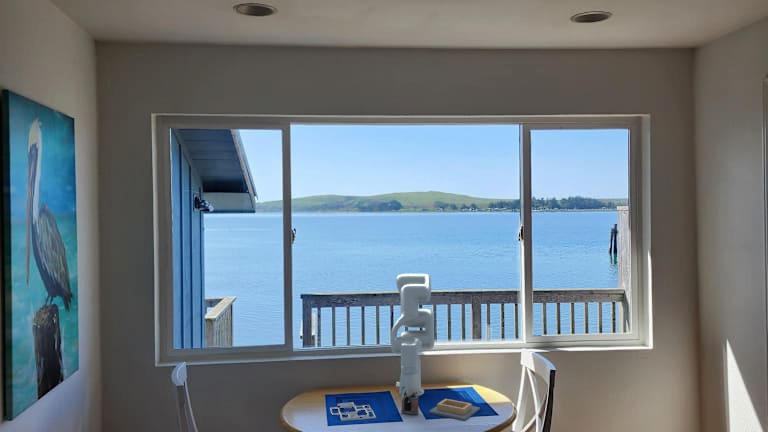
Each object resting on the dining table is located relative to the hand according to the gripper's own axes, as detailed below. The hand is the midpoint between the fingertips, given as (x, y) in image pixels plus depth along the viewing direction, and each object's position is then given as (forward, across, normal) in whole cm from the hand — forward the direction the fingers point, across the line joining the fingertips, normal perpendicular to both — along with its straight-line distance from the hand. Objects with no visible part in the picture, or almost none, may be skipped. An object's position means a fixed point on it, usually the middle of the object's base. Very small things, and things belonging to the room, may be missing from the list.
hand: (410, 408), depth 268 cm
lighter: (+2, 0, 0) cm, 2 cm away
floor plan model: (+3, +15, -26) cm, 30 cm away
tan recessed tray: (+2, -12, +16) cm, 21 cm away
